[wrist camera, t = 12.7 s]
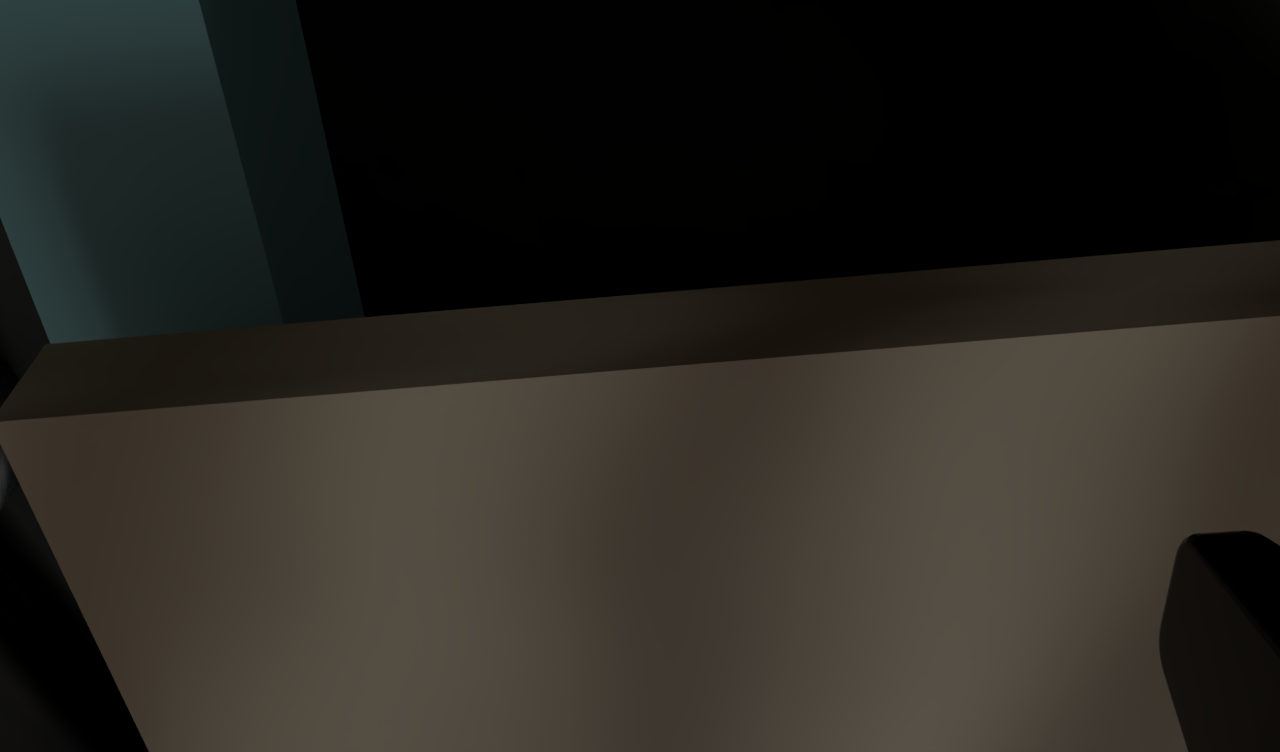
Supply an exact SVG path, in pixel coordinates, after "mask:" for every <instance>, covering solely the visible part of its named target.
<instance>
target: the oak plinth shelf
mask: <svg viewBox="0 0 1280 752" xmlns="http://www.w3.org/2000/svg"><path fill="white" fill-rule="evenodd" d="M0 444H1V446H2V448H3V450H4V452H5V454H6V457H7V459H8V461H9V463H10V465H11V467H12V469H13V471H14V473H15V475H16V477H17V479H18V481H19V483H20V486H21V488H22V490H23V492H24V494H25V496H26V498H27V500H28V502H29V504H30V506H31V508H32V510H33V512H34V515H35V517H36V519H37V521H38V523H39V525H40V527H41V529H42V531H43V533H44V535H45V537H46V539H47V541H48V544H49V546H50V548H51V550H52V552H53V554H54V556H55V558H56V560H57V562H58V564H59V566H60V568H61V570H62V573H63V575H64V577H65V579H66V581H67V583H68V585H69V587H70V589H71V591H72V593H73V595H74V597H75V599H76V602H77V604H78V606H79V608H80V610H81V612H82V614H83V616H84V618H85V620H86V622H87V624H88V626H89V628H90V631H91V633H92V635H93V637H94V639H95V641H96V643H97V645H98V647H99V649H100V651H101V653H102V655H103V658H104V660H105V662H106V664H107V666H108V668H109V670H110V672H111V674H112V676H113V678H114V680H115V682H116V684H117V687H118V689H119V691H120V693H121V695H122V697H123V699H124V701H125V703H126V705H127V707H128V709H129V711H130V713H131V716H132V718H133V720H134V722H135V724H136V726H137V728H138V730H139V732H140V734H141V736H142V738H143V740H144V742H145V745H146V747H147V749H148V751H149V752H1188V751H1187V747H1186V744H1185V741H1184V738H1183V734H1182V731H1181V728H1180V725H1179V722H1178V718H1177V715H1176V712H1175V709H1174V705H1173V702H1172V699H1171V696H1170V692H1169V689H1168V686H1167V683H1166V680H1165V676H1164V673H1163V669H1162V666H1161V660H1160V654H1159V630H1160V624H1161V620H1162V615H1163V610H1164V606H1165V601H1166V597H1167V592H1168V588H1169V583H1170V578H1171V574H1172V569H1173V565H1174V560H1175V556H1176V553H1177V550H1178V547H1179V545H1180V544H1181V542H1182V541H1183V540H1184V539H1185V538H1186V537H1188V536H1190V535H1192V534H1196V533H1209V532H1226V531H1242V530H1245V531H1254V532H1257V533H1260V534H1262V535H1263V536H1265V537H1267V538H1269V539H1271V540H1272V541H1274V542H1275V543H1277V544H1279V545H1280V240H1279V241H1267V242H1255V243H1243V244H1231V245H1219V246H1207V247H1195V248H1184V249H1172V250H1160V251H1148V252H1136V253H1124V254H1112V255H1100V256H1088V257H1076V258H1065V259H1053V260H1041V261H1029V262H1017V263H1005V264H993V265H981V266H969V267H958V268H946V269H934V270H922V271H910V272H898V273H886V274H874V275H862V276H850V277H839V278H827V279H815V280H803V281H791V282H779V283H767V284H755V285H743V286H732V287H720V288H708V289H696V290H684V291H672V292H660V293H648V294H636V295H624V296H613V297H601V298H589V299H577V300H565V301H553V302H541V303H529V304H517V305H506V306H494V307H482V308H470V309H458V310H446V311H434V312H422V313H410V314H398V315H387V316H375V317H363V318H351V319H339V320H327V321H315V322H303V323H291V324H280V325H268V326H256V327H244V328H232V329H220V330H208V331H196V332H184V333H172V334H161V335H149V336H137V337H125V338H113V339H101V340H89V341H77V342H65V343H54V344H45V345H44V347H43V348H42V349H41V351H40V352H39V354H38V355H37V357H36V358H35V359H34V361H33V362H32V364H31V365H30V366H29V368H28V369H27V371H26V372H25V374H24V375H23V376H22V378H21V379H20V381H19V382H18V384H17V385H16V386H15V388H14V389H13V391H12V392H11V393H10V395H9V396H8V398H7V399H6V401H5V402H4V403H3V405H2V406H1V408H0Z"/></svg>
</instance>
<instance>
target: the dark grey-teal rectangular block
mask: <svg viewBox="0 0 1280 752" xmlns="http://www.w3.org/2000/svg"><path fill="white" fill-rule="evenodd" d="M0 218H1V221H2V223H3V226H4V228H5V231H6V233H7V236H8V238H9V241H10V243H11V246H12V248H13V251H14V253H15V256H16V258H17V261H18V263H19V266H20V268H21V271H22V273H23V276H24V279H25V281H26V284H27V286H28V289H29V291H30V294H31V296H32V299H33V301H34V304H35V306H36V309H37V311H38V314H39V316H40V319H41V321H42V324H43V326H44V329H45V331H46V334H47V336H48V339H49V341H50V344H54V343H65V342H77V341H89V340H101V339H113V338H125V337H137V336H149V335H161V334H172V333H184V332H196V331H208V330H220V329H232V328H244V327H256V326H268V325H280V324H291V323H303V322H315V321H327V320H339V319H351V318H363V317H365V316H364V312H363V307H362V302H361V298H360V293H359V289H358V284H357V279H356V275H355V270H354V266H353V261H352V256H351V252H350V247H349V243H348V238H347V234H346V229H345V224H344V220H343V215H342V211H341V206H340V201H339V197H338V192H337V188H336V183H335V178H334V174H333V169H332V165H331V160H330V155H329V151H328V146H327V142H326V137H325V132H324V128H323V123H322V119H321V114H320V109H319V105H318V100H317V96H316V91H315V86H314V82H313V77H312V73H311V68H310V64H309V59H308V54H307V50H306V45H305V41H304V36H303V31H302V27H301V22H300V18H299V13H298V8H297V4H296V0H0Z"/></svg>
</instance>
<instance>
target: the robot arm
mask: <svg viewBox="0 0 1280 752" xmlns="http://www.w3.org/2000/svg"><path fill="white" fill-rule="evenodd" d="M1159 654H1160V660H1161V666H1162V669H1163V673H1164V676H1165V680H1166V683H1167V686H1168V689H1169V692H1170V696H1171V699H1172V702H1173V705H1174V709H1175V712H1176V715H1177V718H1178V722H1179V725H1180V728H1181V731H1182V734H1183V738H1184V741H1185V744H1186V747H1187V751H1188V752H1280V545H1279V544H1277V543H1275V542H1274V541H1272V540H1271V539H1269V538H1267V537H1265V536H1263V535H1262V534H1260V533H1257V532H1254V531H1245V530H1242V531H1226V532H1209V533H1196V534H1192V535H1190V536H1188V537H1186V538H1185V539H1184V540H1183V541H1182V542H1181V544H1180V545H1179V547H1178V550H1177V553H1176V556H1175V560H1174V565H1173V569H1172V574H1171V578H1170V583H1169V588H1168V592H1167V597H1166V601H1165V606H1164V610H1163V615H1162V620H1161V624H1160V630H1159Z"/></svg>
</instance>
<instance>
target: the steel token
mask: <svg viewBox="0 0 1280 752" xmlns="http://www.w3.org/2000/svg"><path fill="white" fill-rule="evenodd" d="M18 382H19V380H18V378H17V377H16V375H15V373H14V372H13V370H12V369H11V367H10V366H9V365H8V363H7V362H6V361H5V360H4V358H3V357H2V356H1V355H0V408H1V406H2V405H3V403H4V402H5V401H6V399H7V398H8V396H9V395H10V393H11V392H12V391H13V389H14V388H15V386H16V385H17V384H18ZM17 483H18V479H17V477H16V475H15V473H14V471H13V469H12V467H11V465H10V463H9V461H8V459H7V457H6V454H5V452H4V450H3V448H2V446H1V444H0V511H1V509H2V507H3V506H4V504H5V503H6V501H7V499H8V498H9V496H10V494H11V493H12V491H13V489H14V488H15V486H16V485H17Z"/></svg>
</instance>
